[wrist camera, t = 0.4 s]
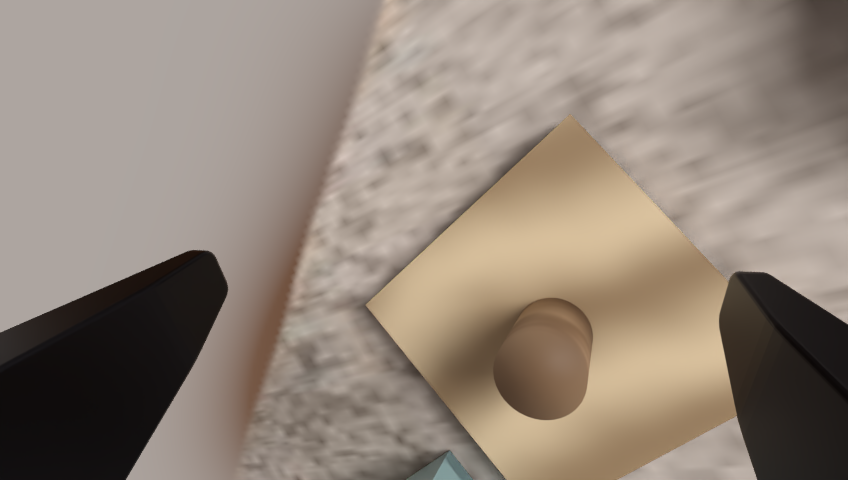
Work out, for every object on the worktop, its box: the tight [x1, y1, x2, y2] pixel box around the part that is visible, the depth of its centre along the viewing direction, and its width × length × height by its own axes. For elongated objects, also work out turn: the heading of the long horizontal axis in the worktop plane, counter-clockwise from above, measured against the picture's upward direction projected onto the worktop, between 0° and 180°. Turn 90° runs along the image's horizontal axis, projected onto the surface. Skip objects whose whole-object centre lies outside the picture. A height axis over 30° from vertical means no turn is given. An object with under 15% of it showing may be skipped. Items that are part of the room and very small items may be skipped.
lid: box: [366, 114, 737, 480], centre depth 19 cm, size 13×13×5 cm
